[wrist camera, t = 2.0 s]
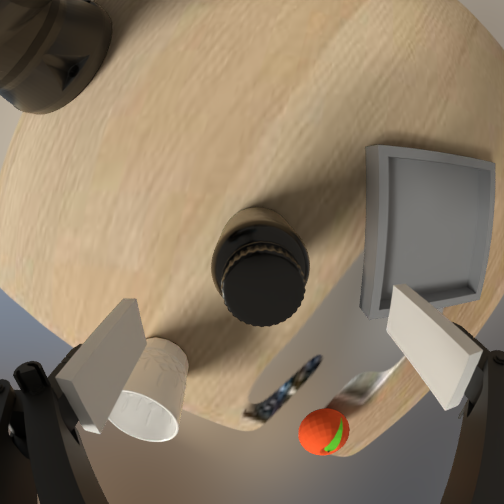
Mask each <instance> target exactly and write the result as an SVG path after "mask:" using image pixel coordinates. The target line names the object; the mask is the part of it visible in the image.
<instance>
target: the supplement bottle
mask: <svg viewBox="0 0 504 504" xmlns="http://www.w3.org/2000/svg"><path fill="white" fill-rule="evenodd" d="M309 271H310V261H309V256H308V252H307V249H306V247H305V245H304V243H303V241H302V240H301V238H300V237H299V236H298V235H297V233H296V232H295V231H294V230H293V229H292V227H291V226H290V225H289V224H288V223H287V221H286V220H285V219H284V218H283V217H282V216H281V215H279V214H278V213H276V212H275V211H273V210H270V209H267V208H262V207H252V208H247V209H244V210H242V211H240V212H238V213H237V214H235V215H234V216H233V217H232V218H231V219H230V220H229V221H228V222H227V224H226V225H225V227H224V229H223V231H222V234H221V236H220V238H219V240H218V243H217V245H216V247H215V250H214V253H213V257H212V263H211V273H212V278H213V282H214V284H215V287H216V289H217V291H218V292H219V294H220V295H221V296H222V297H223V299H224V303H225V305H226V306H227V307H228V310H229V311H230V312H231V313H232V314H233V316H234V317H237V318H238V319H239V320H240V321H243V322H245V323H246V324H251V325H253V326H260V327H264V326H272V325H277V324H279V323H280V322H284V321H285V320H286V319H287V318H290V317H291V316H292V314H293V313H295V312H296V311H297V308H298V307H300V306H301V301H302V300H303V299H304V293H305V286H306V283H307V281H308V277H309Z"/></svg>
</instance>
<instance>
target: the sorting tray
mask: <svg viewBox="0 0 504 504" xmlns="http://www.w3.org/2000/svg"><path fill="white" fill-rule="evenodd" d="M365 150H366V230H365V249H364V265H363V276H362V287H361V296H360V306H359V307H360V308H361V310H362V311H363V312H364V314H365V315H366V316H367V318H368V319H369V320H371V319H378V318H385V317H389V312H390V306H391V299H392V292H393V285H400V284H406V285H408V286H409V287H410V288H411V289H413V290H414V291H415V292H416V293H417V294H419V295H420V296H421V297H422V298H424V299H425V300H426V301H427V302H428V303H430V304H431V305H432V306H433V307H434V308H436V309H438V308H443V307H448V306H453V305H458V304H462V303H467V302H471V301H476V300H480V296H481V292H482V287H483V283H484V278H485V273H486V268H487V262H488V257H489V250H490V243H491V236H492V227H493V217H494V203H495V163H493V162H488V161H484V160H479V159H475V158H470V157H465V156H459V155H454V154H448V153H442V152H436V151H429V150H422V149H414V148H406V147H397V146H387V145H373V146H367V147H365Z"/></svg>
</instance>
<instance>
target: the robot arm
mask: <svg viewBox="0 0 504 504" xmlns="http://www.w3.org/2000/svg"><path fill="white" fill-rule="evenodd" d="M111 35H112V24H111V20H110V17H109V15H108V14H107V12H106V11H105V10H104V9H103V8H102V7H100V6H99V5H98V4H97V3H96V2H94V1H92V0H0V95H1V96H2V97H3V98H4V99H6V100H7V101H8V102H10V103H11V104H13V105H14V107H16V108H17V109H18V110H20V111H23V112H27V113H33V114H47V113H51V112H53V111H56V110H58V109H60V108H61V107H63V106H64V105H66V104H67V103H69V102H70V101H71V100H72V99H74V98H75V97H76V96H77V95H78V94H79V93H80V92H81V91H82V90H83V89H84V88H85V87H86V85H87V84H88V83H89V82H90V80H91V79H92V78H93V76H94V75H95V74H96V72H97V70H98V69H99V67H100V65H101V64H102V62H103V60H104V58H105V55H106V53H107V50H108V48H109V44H110V41H111ZM386 331H387V333H388V334H389V335H390V336H391V338H392V339H393V340H394V341H395V343H396V344H397V345H398V347H399V348H400V349H401V351H402V352H403V353H404V354H405V356H406V357H407V359H408V360H409V361H410V363H411V364H412V365H413V367H414V368H415V369H416V371H417V372H418V373H419V375H420V376H421V377H422V379H423V380H424V382H425V383H426V384H427V386H428V387H429V389H430V390H431V391H432V393H433V394H434V396H435V397H436V398H437V400H438V401H439V403H440V404H441V406H442V407H443V408H444V410H448V409H450V408H453V407H455V406H457V405H459V403H460V401H461V399H462V397H463V395H464V394H465V395H466V397H467V398H468V400H467V402H466V404H465V406H464V408H463V410H462V411H461V413H460V415H459V417H458V419H460V418H461V416H462V415H463V414H464V415H463V422H462V427H461V432H460V437H459V442H458V446H457V450H456V454H455V458H454V462H453V466H452V470H451V473H450V476H449V479H448V483H447V486H446V489H445V491H444V495H443V497H442V500H441V503H440V504H504V352H503V351H500V350H495V351H491V352H490V351H489V350H487V348H485V347H484V346H483V345H482V344H481V343H480V342H479V341H478V340H477V339H475V338H473V336H472V335H471V334H470V333H468V331H466V330H465V329H464V328H463V327H462V326H460V325H458V324H456V323H454V322H451V321H450V320H449V319H447V318H446V317H445V316H444V315H443V314H442V313H440V312H439V311H438V310H437V309H436V308H434V307H433V306H432V305H431V304H430V303H428V302H427V301H426V300H425V299H424V298H422V297H421V296H420V295H419V294H417V293H416V292H415V291H414V290H413V289H411V288H410V287H409V286H408V285H406V284H400V285H393V292H392V299H391V306H390V312H389V318H388V324H387V329H386ZM146 345H147V342H146V338H145V334H144V330H143V326H142V322H141V317H140V313H139V308H138V304H137V299H123V300H122V301H121V302H120V303H119V304H118V305H117V306H116V307H115V308H114V309H113V310H112V312H111V313H110V314H109V315H108V316H107V317H106V318H105V319H104V320H103V322H102V323H101V324H100V325H99V326H98V327H97V328H96V329H95V331H94V332H93V333H92V334H91V335H90V336H89V337H88V339H87V340H86V341H85V342H84V343H83V344H79V345H78V346H76V347H75V348H73V349H72V350H71V351H70V352H69V353H68V354H67V355H66V358H64V359H63V360H62V361H61V363H60V364H59V365H58V366H57V367H56V368H55V370H54V371H53V372H52V373H51V374H50V376H49V377H48V378H47V376H46V374H45V372H44V370H43V368H42V365H41V364H40V363H39V362H35V361H30V362H26V363H24V364H22V365H20V366H19V367H18V368H17V369H16V370H15V371H14V374H13V376H14V378H15V380H16V382H17V383H18V385H19V387H20V389H21V390H13V388H12V387H11V385H10V383H9V381H7V380H4V379H1V380H0V504H37V494H38V497H39V501H40V504H109V503H108V501H107V499H106V497H105V495H104V493H103V491H102V489H101V487H100V485H99V483H98V481H97V478H96V477H95V474H94V471H93V469H92V467H91V464H90V462H89V460H88V457H87V455H86V452H85V449H84V447H83V444H82V441H81V438H80V435H79V432H78V430H77V429H76V427H75V426H76V424H77V422H78V420H79V421H80V423H81V425H82V426H83V428H84V430H87V431H91V432H95V433H98V434H101V432H102V430H103V428H104V426H105V424H106V422H107V420H108V418H109V416H110V414H111V412H112V410H113V408H114V406H115V404H116V402H117V400H118V398H119V396H120V394H121V392H122V390H123V388H124V386H125V384H126V383H127V381H128V379H129V377H130V375H131V373H132V371H133V369H134V368H135V366H136V364H137V362H138V360H139V358H140V356H141V355H142V353H143V351H144V349H145V347H146ZM8 428H9V429H10V430H11V434H10V435H9V433H8Z"/></svg>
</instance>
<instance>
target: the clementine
mask: <svg viewBox="0 0 504 504" xmlns="http://www.w3.org/2000/svg"><path fill="white" fill-rule="evenodd" d="M349 431H350V429H349V424H348V421H347V419H346V418H345V416H344V415H343V414H341V413H340V412H338V411H336V410H333V409H329V408H324V409H319V410H316V411H313V412H311V413H310V414H309V415H307V416H306V418H305V419H304V420H303V421H302V422H301V425H300V427H299V440H300V443H301V445H302V446H303V447H304V448H305V449H306V450H307V451H308V452H310V453H312V454H316V455H329V454H332V453H334V452H336V451H338V450H339V449H340V448H341V447H342V446H344V444H345V443H346V441H347V439H348V436H349Z"/></svg>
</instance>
